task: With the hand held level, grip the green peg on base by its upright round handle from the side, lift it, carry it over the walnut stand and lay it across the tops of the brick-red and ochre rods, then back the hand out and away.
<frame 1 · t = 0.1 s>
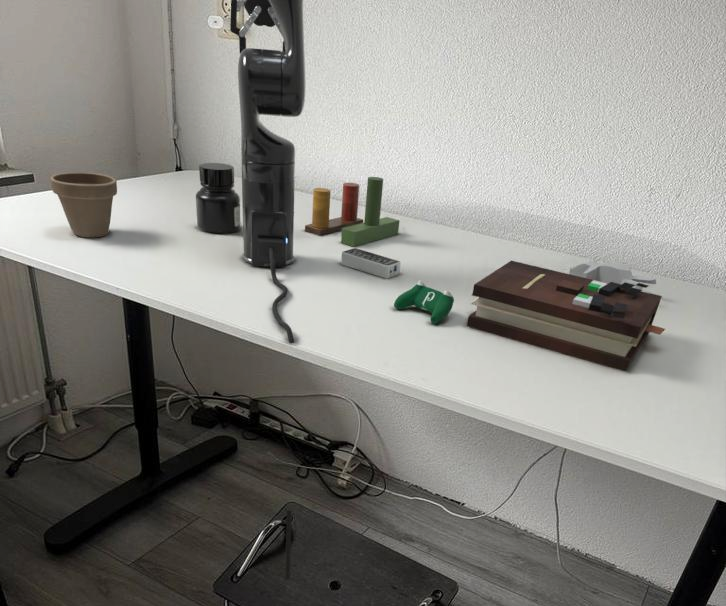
hand: (264, 60, 144), 29 cm above the table, tool pointing down, fingers open, 8 cm apart
flower pot: (92, 234, 129), on the table
gaming controller: (424, 314, 108), on the table
ink bottle: (219, 229, 139), on the table
multiport hub: (369, 269, 125), on the table
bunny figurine: (606, 291, 126), on the table
rod stand: (334, 227, 147), on the table
decorative book: (558, 332, 107), on the table
green peg on base: (370, 238, 142), on the table
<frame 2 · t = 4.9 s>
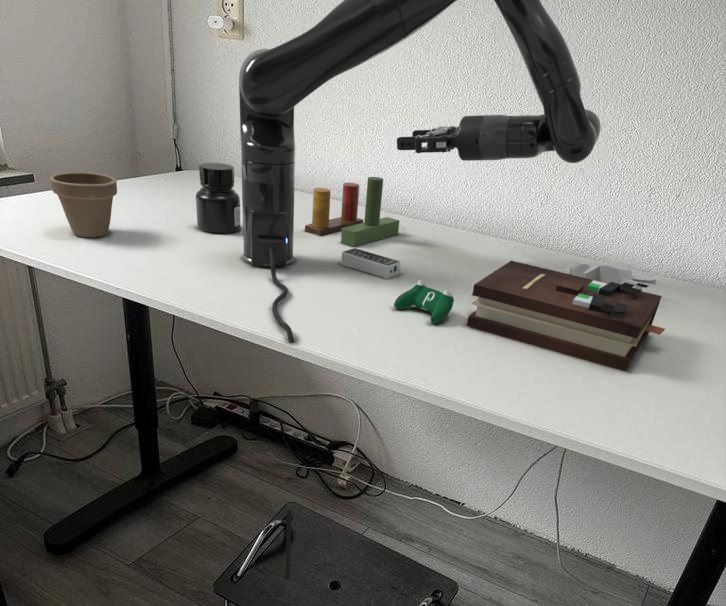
hand: (405, 140, 129), 20 cm above the table, tool horizontal, fingers open, 8 cm apart
nothing on the table moved.
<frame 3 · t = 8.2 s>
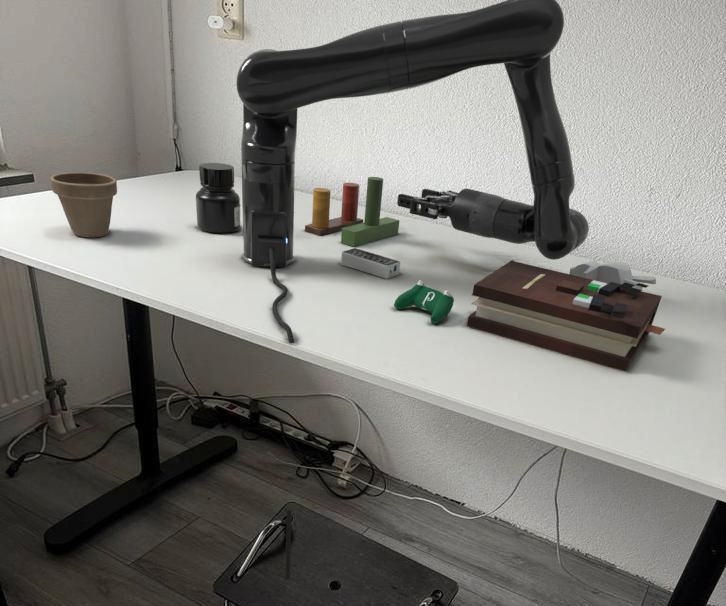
hand: (410, 196, 132), 10 cm above the table, tool horizontal, fingers open, 8 cm apart
nothing on the table moved.
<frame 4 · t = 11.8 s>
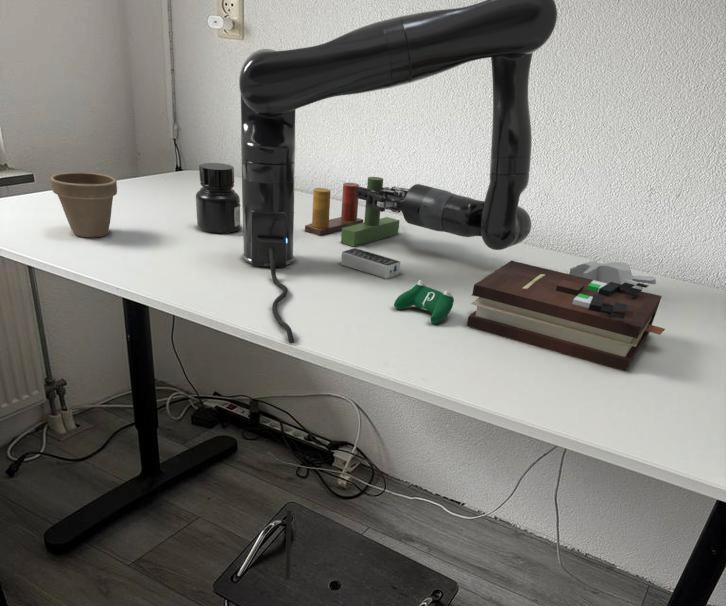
hand: (363, 191, 138), 9 cm above the table, tool horizontal, fingers closed on green peg on base, 3 cm apart
green peg on base: (370, 238, 142), on the table, touching gripper
everything else where it was.
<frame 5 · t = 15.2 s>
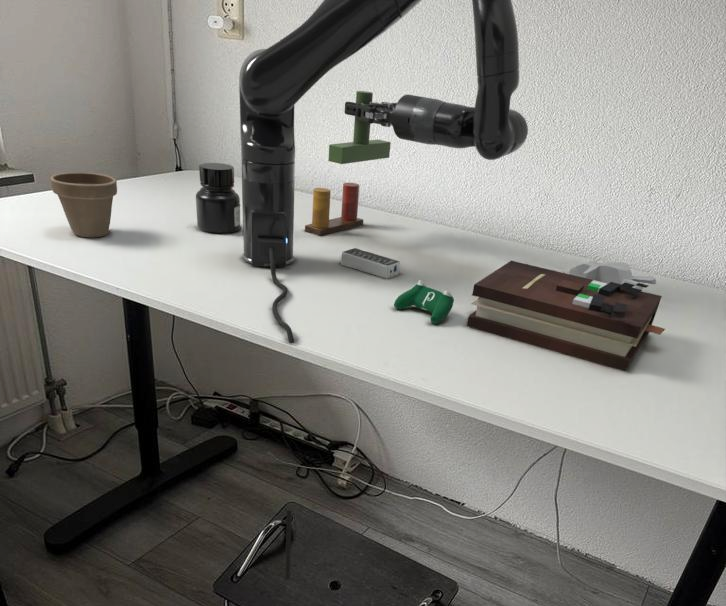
hand: (352, 107, 132), 24 cm above the table, tool horizontal, fingers closed on green peg on base, 3 cm apart
green peg on base: (359, 159, 136), point 15 cm above the table, touching gripper
everything else where it was.
when the fingers open (18 cm above the table, at t = 18.7 s): green peg on base stays where it is, resting on rod stand.
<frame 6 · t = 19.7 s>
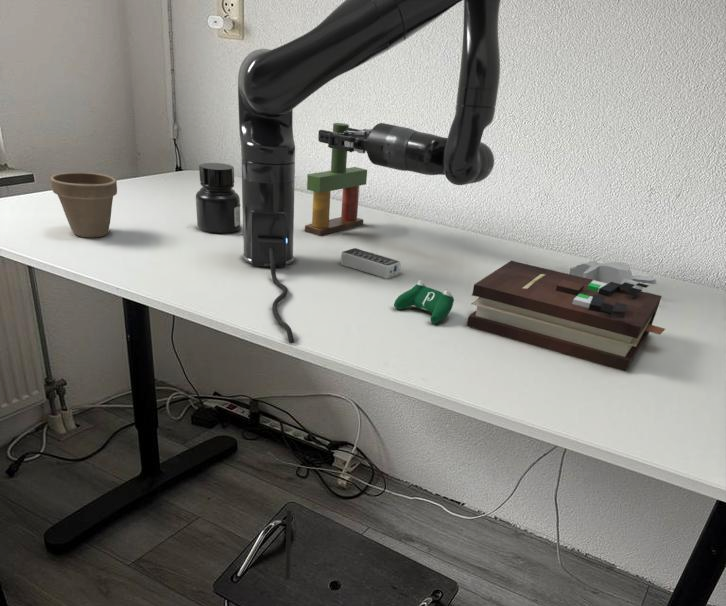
hand: (332, 134, 137), 18 cm above the table, tool horizontal, fingers open, 8 cm apart
green peg on base: (337, 187, 142), point 8 cm above the table, touching rod stand
everything else where it was.
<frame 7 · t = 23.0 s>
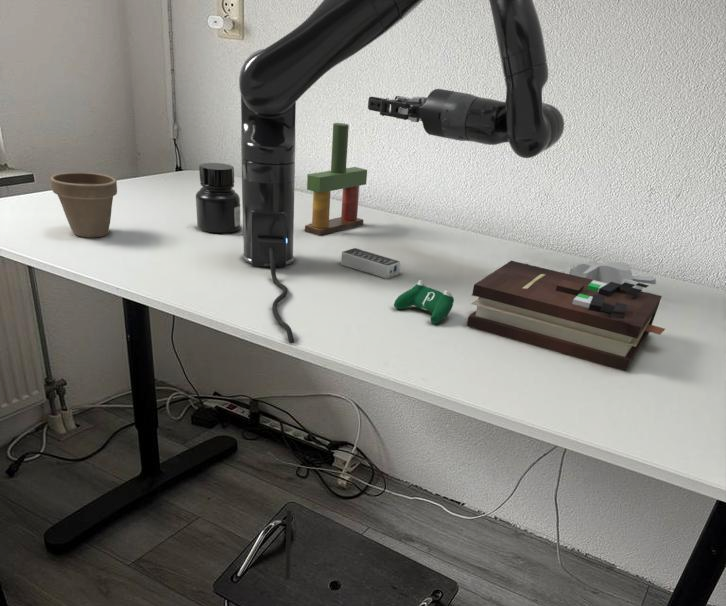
hand: (382, 102, 128), 26 cm above the table, tool horizontal, fingers open, 8 cm apart
nothing on the table moved.
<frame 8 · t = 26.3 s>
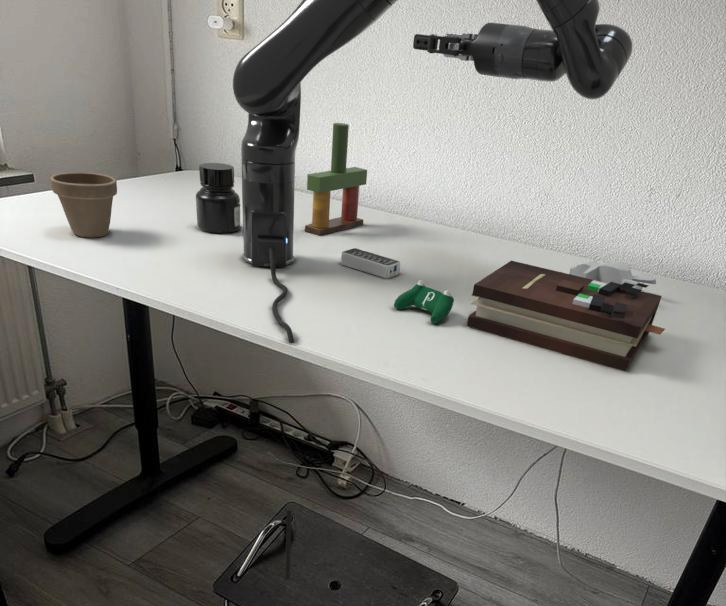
hand: (427, 42, 119), 36 cm above the table, tool horizontal, fingers open, 8 cm apart
nothing on the table moved.
at the end: green peg on base 0.1 cm off-centre on the rod stand, point 8.5 cm above the rod stand's base; green peg on base tilted 0°; the gripper is holding nothing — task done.
